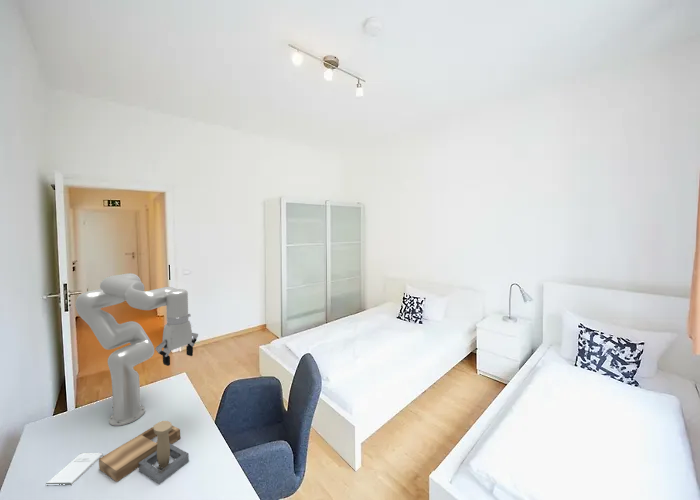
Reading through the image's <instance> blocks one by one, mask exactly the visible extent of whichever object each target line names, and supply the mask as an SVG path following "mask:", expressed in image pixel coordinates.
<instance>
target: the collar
mask: <svg viewBox="0 0 700 500" xmlns="http://www.w3.org/2000/svg"><path fill="white" fill-rule="evenodd" d="M189 456H190V455H189V452H186V451H185V450H183V449H181V448H180V447H178V446H175V445H174V444H170V458H171V457H172V458H173V459H174V460H173V461H172V462H169V465H168V466H166V467H165V468H161V469H160V468H157V467H155V466H154V464H156V463H158V459H157V451H155V452H154V453H153V454H151V455H150V456H148V457H147V458H145V459H144V460H142V461H141V462H139V463H138V464H139V467H138V472H140V473H141V474H143V475H144V476H146V477H147V478H149V479H150V480H152V481H154V482H155V483H156V484H158V485H160V484H161V483H163V482H164V481H165V480H166V479H168V478H169V477H171V476H172V474H174V473H175V472H176V471H178V470H179V469H181V468H182V467H183V466H184V465H186V464H187V463H188V462H189V461H190V460H189V458H190V457H189Z"/></svg>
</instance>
